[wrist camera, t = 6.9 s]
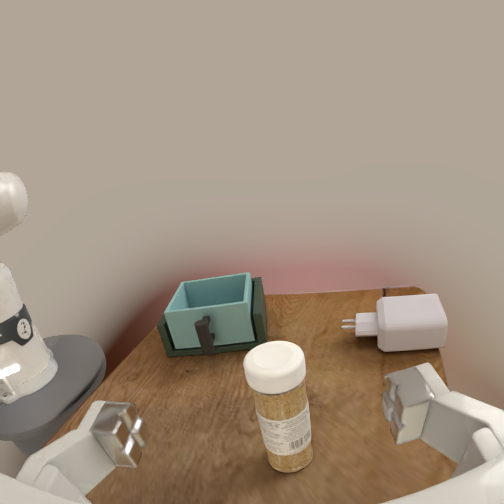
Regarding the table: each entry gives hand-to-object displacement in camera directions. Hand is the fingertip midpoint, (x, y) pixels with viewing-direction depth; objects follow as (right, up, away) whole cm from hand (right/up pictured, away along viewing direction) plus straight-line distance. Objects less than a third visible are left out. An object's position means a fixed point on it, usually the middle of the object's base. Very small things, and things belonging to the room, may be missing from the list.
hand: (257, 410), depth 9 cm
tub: (-6, -8, +42) cm, 43 cm away
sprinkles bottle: (+4, -15, +17) cm, 24 cm away
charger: (+20, -8, +33) cm, 40 cm away
